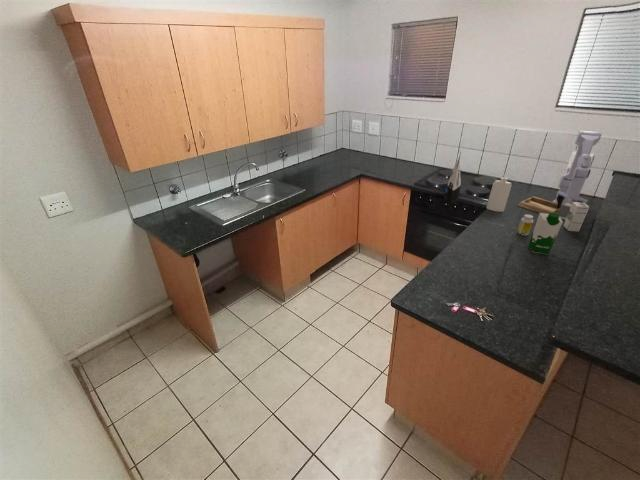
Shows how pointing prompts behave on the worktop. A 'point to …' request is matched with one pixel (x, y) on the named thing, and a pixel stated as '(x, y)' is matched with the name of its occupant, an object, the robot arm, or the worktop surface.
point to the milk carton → (545, 232)
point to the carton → (539, 205)
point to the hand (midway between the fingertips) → (565, 210)
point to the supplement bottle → (525, 225)
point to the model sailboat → (453, 185)
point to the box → (564, 210)
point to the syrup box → (576, 216)
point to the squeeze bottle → (499, 195)
